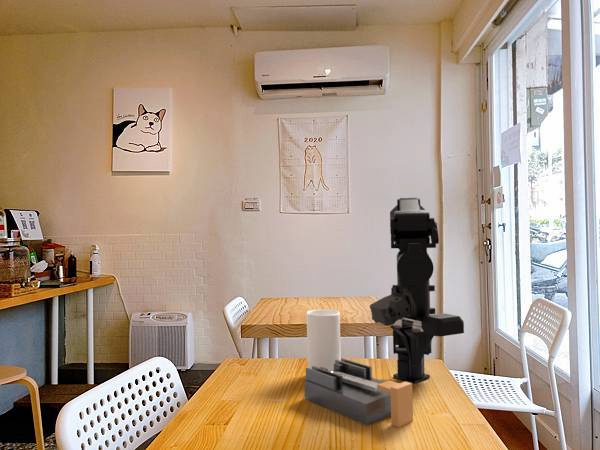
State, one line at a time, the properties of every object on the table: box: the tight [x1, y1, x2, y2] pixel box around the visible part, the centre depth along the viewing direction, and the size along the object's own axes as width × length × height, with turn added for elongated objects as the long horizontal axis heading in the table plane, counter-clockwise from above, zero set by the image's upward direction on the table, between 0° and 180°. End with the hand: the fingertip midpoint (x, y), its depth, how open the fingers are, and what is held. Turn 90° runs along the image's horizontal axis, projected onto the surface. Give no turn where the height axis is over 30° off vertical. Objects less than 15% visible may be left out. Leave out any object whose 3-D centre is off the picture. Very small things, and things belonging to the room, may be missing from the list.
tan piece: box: [377, 380, 414, 428], centre depth 86 cm, size 4×5×7 cm
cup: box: [306, 308, 342, 371], centre depth 112 cm, size 8×8×16 cm
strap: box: [330, 370, 381, 392], centre depth 95 cm, size 14×3×1 cm, turn 39°
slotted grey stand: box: [303, 357, 391, 427], centre depth 94 cm, size 12×18×6 cm, turn 39°
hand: (415, 366), depth 82 cm, fingers closed
